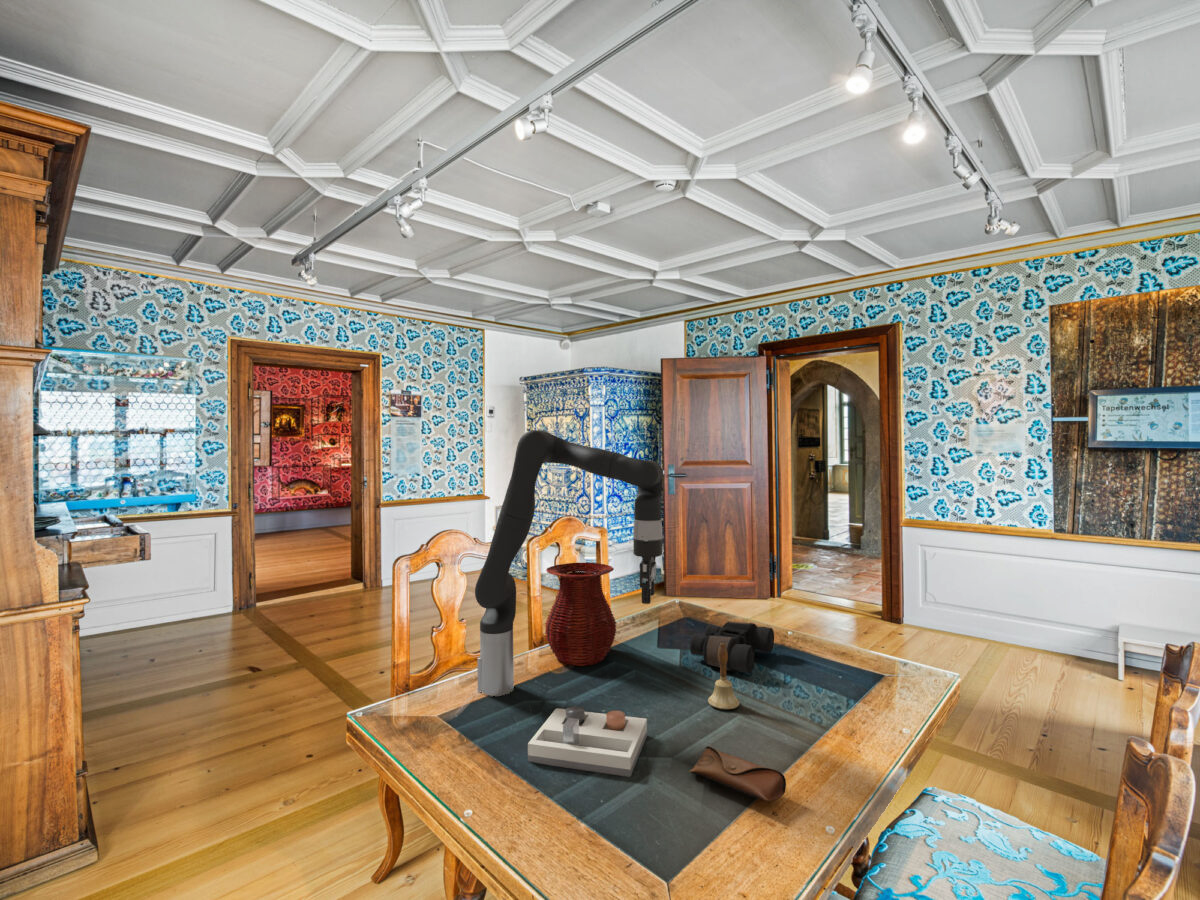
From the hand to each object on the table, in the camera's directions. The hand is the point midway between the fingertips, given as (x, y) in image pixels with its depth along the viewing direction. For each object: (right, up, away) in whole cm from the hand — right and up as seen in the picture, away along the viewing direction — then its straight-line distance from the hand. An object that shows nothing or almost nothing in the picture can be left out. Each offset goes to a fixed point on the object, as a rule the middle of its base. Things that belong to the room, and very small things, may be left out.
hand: (648, 599), depth 148 cm
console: (-15, -29, -18) cm, 38 cm away
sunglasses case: (+14, -30, -34) cm, 47 cm away
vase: (-19, -30, +38) cm, 52 cm away
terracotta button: (-9, -26, -15) cm, 31 cm away
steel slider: (-19, -27, -21) cm, 40 cm away
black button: (-18, -26, -12) cm, 34 cm away
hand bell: (+21, -30, +5) cm, 36 cm away
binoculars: (+30, -30, +38) cm, 57 cm away
